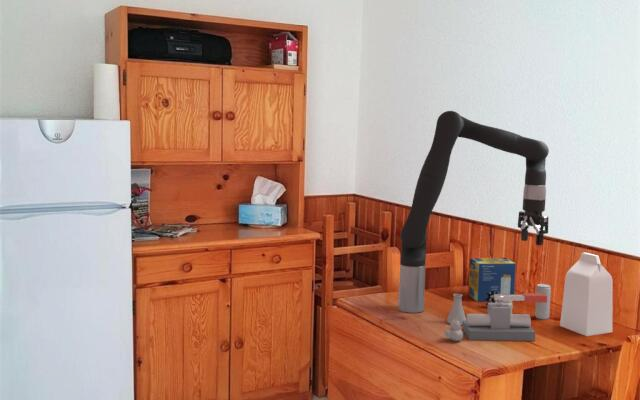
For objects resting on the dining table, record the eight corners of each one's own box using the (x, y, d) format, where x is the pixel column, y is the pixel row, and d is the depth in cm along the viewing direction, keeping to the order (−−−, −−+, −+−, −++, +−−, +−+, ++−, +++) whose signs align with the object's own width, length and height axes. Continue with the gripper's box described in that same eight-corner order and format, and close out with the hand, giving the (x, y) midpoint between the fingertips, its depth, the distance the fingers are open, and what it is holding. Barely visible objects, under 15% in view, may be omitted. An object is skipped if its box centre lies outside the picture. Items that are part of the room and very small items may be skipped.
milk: (559, 325, 226) (563, 252, 223) (585, 322, 230) (589, 249, 227) (586, 336, 215) (591, 258, 212) (612, 332, 219) (617, 256, 216)
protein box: (468, 295, 265) (469, 257, 263) (504, 294, 267) (506, 257, 265) (476, 302, 255) (478, 263, 253) (514, 301, 256) (516, 262, 255)
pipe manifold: (469, 339, 210) (470, 305, 209) (462, 329, 221) (463, 296, 219) (534, 340, 210) (536, 306, 208) (524, 330, 220) (526, 297, 219)
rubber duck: (467, 341, 208) (468, 317, 207) (450, 344, 205) (451, 320, 204) (456, 336, 213) (457, 313, 212) (439, 339, 210) (440, 315, 209)
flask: (468, 320, 230) (469, 293, 229) (466, 326, 224) (467, 298, 223) (447, 318, 233) (448, 291, 232) (444, 324, 226) (445, 296, 225)
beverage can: (532, 316, 237) (534, 283, 236) (545, 315, 237) (547, 283, 236) (538, 320, 232) (540, 287, 231) (551, 319, 233) (553, 286, 231)
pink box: (495, 301, 212) (496, 295, 212) (493, 299, 215) (493, 292, 215) (546, 302, 212) (547, 296, 212) (543, 300, 215) (543, 293, 215)
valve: (517, 315, 238) (498, 306, 249) (518, 297, 237) (499, 289, 249) (502, 316, 236) (483, 307, 247) (502, 299, 235) (484, 290, 246)
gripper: (513, 195, 235) (510, 239, 237) (537, 200, 222) (535, 247, 223) (531, 195, 237) (528, 238, 239) (556, 199, 224) (553, 246, 226)
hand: (531, 242), depth 231 cm, fingers open, 8 cm apart
